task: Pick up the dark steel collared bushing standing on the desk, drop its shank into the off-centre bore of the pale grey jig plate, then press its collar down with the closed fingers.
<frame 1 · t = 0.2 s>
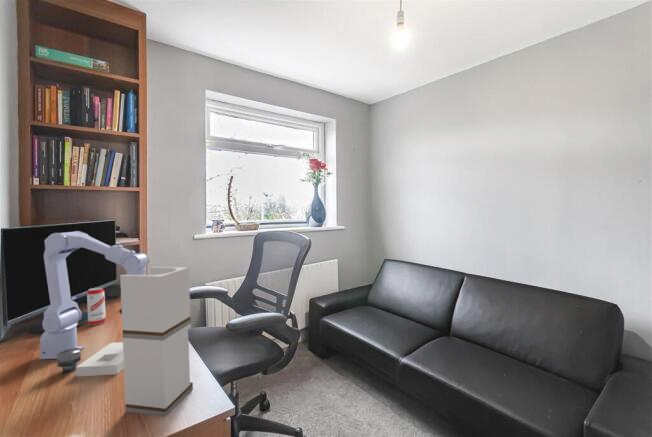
hand: (138, 324, 103), 10 cm above the table, tool pointing down, fingers open, 7 cm apart
jig plate: (113, 361, 96), on the table
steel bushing: (69, 370, 91), on the table
beer can: (97, 323, 130), on the table
tall white square container: (161, 400, 76), on the table
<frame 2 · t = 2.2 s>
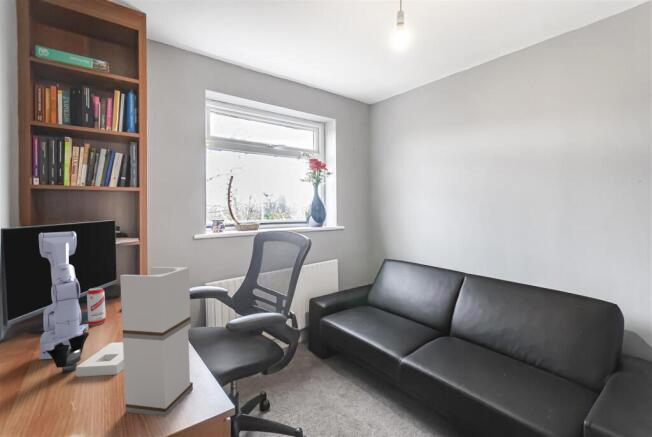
hand: (69, 361, 91), 3 cm above the table, tool pointing down, fingers closed on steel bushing, 6 cm apart
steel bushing: (69, 370, 91), on the table, touching gripper
everything else where it was.
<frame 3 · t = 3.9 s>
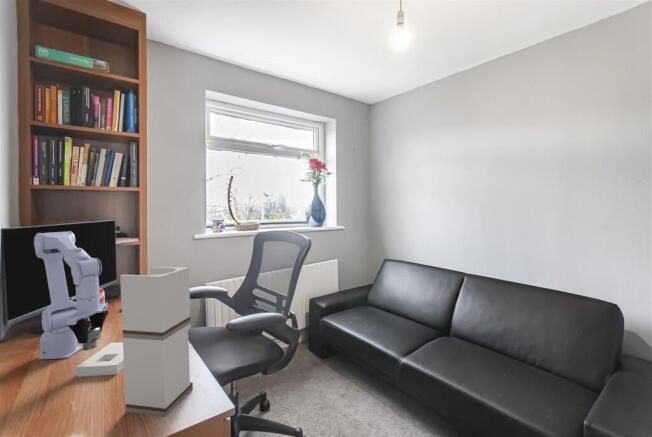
hand: (90, 338, 92), 10 cm above the table, tool pointing down, fingers closed on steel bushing, 6 cm apart
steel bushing: (89, 347, 92), point 7 cm above the table, touching gripper
everything else where it was.
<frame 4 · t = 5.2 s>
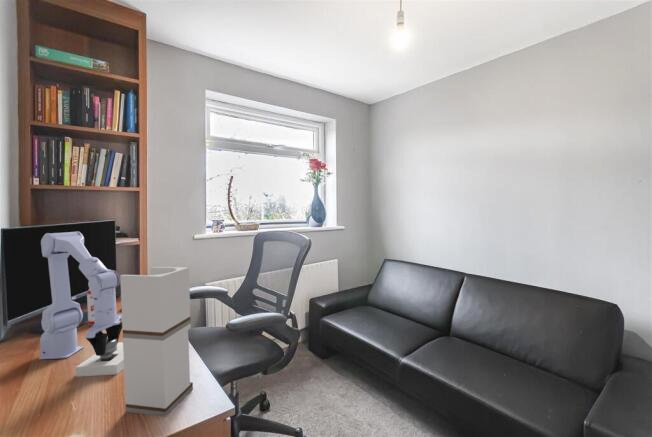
hand: (107, 349, 93), 6 cm above the table, tool pointing down, fingers closed on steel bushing, 6 cm apart
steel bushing: (106, 359, 93), point 2 cm above the table, touching gripper
everything else where it was.
when the fingers open (4 cm above the table, at t = 6.1 s): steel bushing stays where it is, resting on jig plate.
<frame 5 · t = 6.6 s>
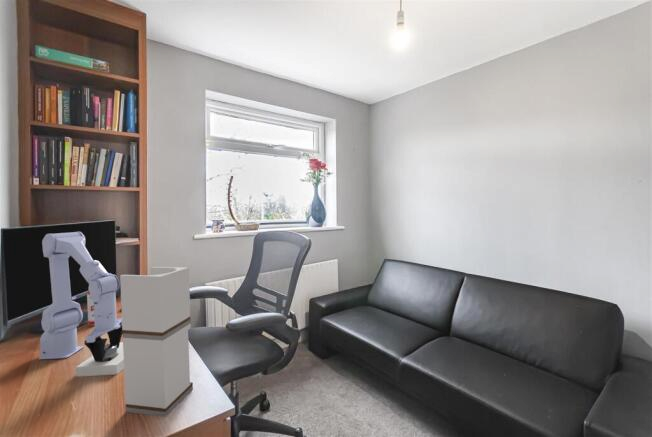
hand: (107, 354, 93), 4 cm above the table, tool pointing down, fingers open, 7 cm apart
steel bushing: (107, 365, 93), resting on jig plate
everything else where it was.
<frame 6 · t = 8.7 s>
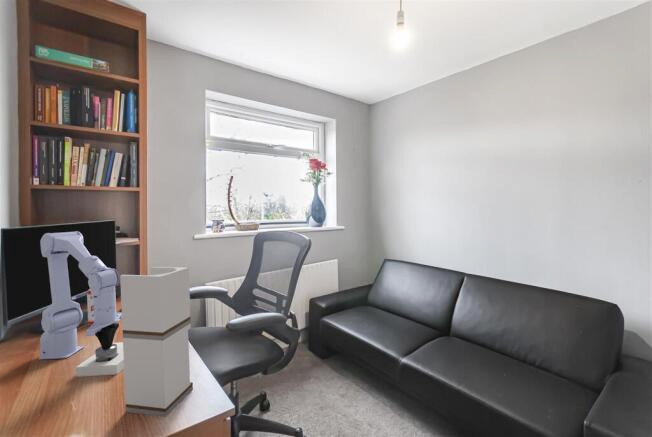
hand: (107, 348, 93), 6 cm above the table, tool pointing down, fingers closed, pressing on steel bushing
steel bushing: (107, 365, 93), resting on jig plate, touching gripper
everything else where it was.
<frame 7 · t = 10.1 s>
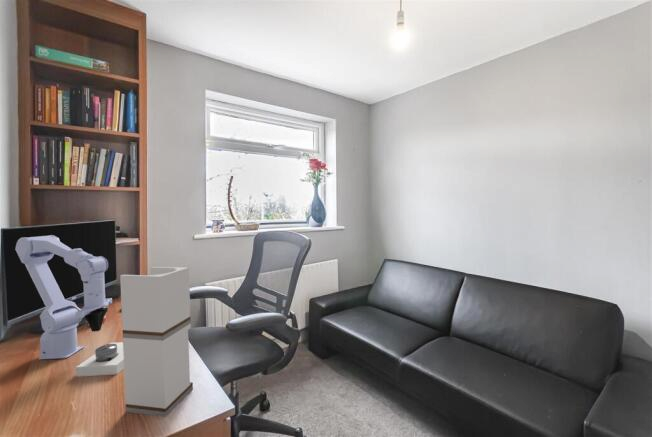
hand: (96, 330, 99), 9 cm above the table, tool pointing down, fingers closed
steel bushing: (107, 365, 93), resting on jig plate
everything else where it was.
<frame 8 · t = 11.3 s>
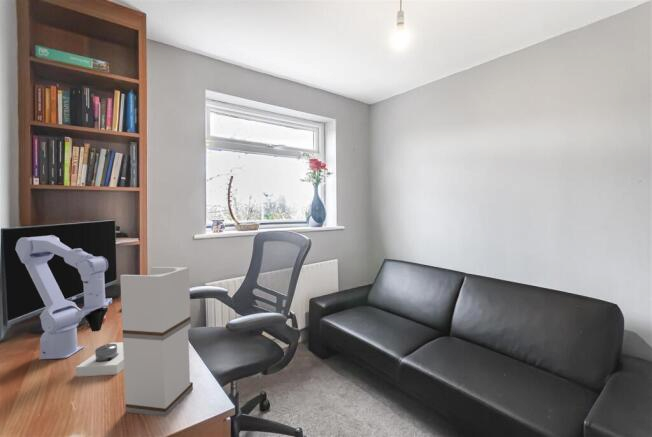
hand: (96, 330, 99), 9 cm above the table, tool pointing down, fingers closed
nothing on the table moved.
at the end: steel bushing 0.2 cm from the target spot on the jig plate, point 0.3 cm above the jig plate's base; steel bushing tilted 0°; the gripper is holding nothing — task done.
